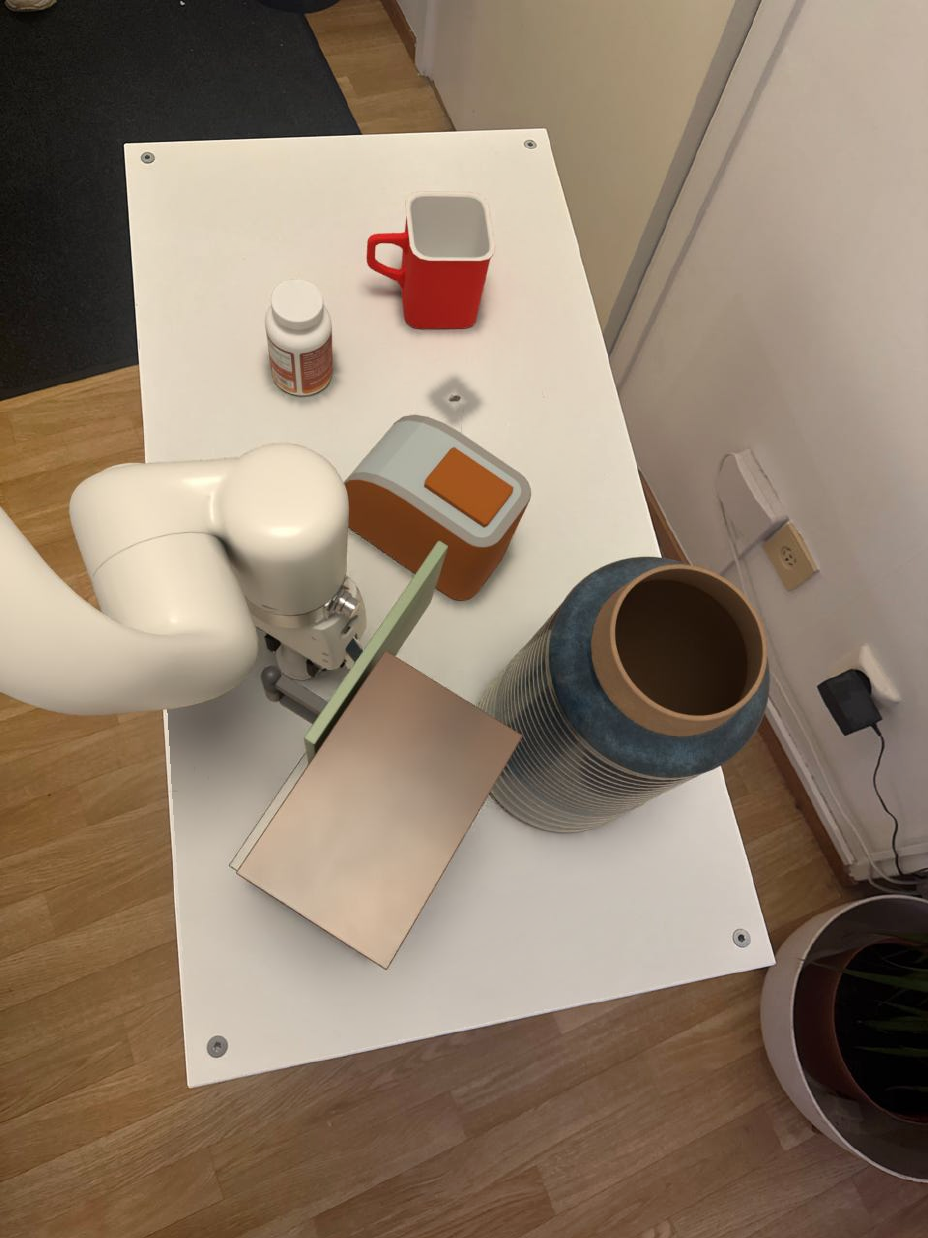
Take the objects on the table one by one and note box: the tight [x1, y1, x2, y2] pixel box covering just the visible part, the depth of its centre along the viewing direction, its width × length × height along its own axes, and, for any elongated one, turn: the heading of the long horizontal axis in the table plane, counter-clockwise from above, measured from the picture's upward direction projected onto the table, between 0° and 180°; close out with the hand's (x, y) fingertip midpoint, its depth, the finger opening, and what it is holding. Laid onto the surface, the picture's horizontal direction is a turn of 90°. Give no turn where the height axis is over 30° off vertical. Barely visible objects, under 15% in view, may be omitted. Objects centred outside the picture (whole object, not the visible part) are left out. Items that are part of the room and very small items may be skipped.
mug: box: [366, 190, 496, 330], centre depth 89 cm, size 12×8×11 cm
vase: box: [477, 556, 771, 833], centre depth 66 cm, size 16×16×32 cm
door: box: [260, 541, 448, 764], centre depth 54 cm, size 5×14×10 cm, turn 149°
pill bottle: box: [264, 278, 334, 396], centre depth 84 cm, size 6×6×11 cm
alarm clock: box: [343, 414, 532, 601], centre depth 79 cm, size 15×8×14 cm, turn 56°
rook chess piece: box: [276, 641, 323, 681], centre depth 76 cm, size 4×4×8 cm
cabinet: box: [228, 651, 522, 971], centre depth 61 cm, size 11×14×31 cm
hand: (300, 649), depth 77 cm, fingers closed on rook chess piece, 3 cm apart
